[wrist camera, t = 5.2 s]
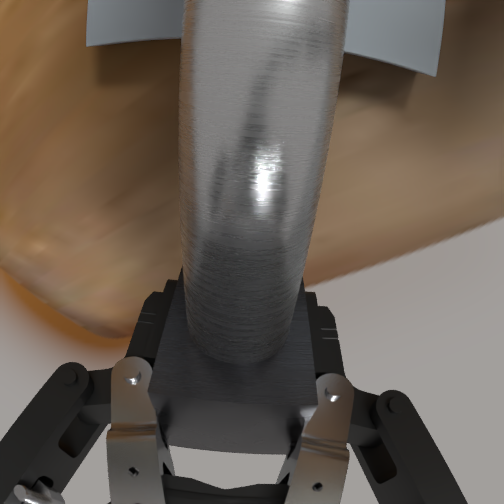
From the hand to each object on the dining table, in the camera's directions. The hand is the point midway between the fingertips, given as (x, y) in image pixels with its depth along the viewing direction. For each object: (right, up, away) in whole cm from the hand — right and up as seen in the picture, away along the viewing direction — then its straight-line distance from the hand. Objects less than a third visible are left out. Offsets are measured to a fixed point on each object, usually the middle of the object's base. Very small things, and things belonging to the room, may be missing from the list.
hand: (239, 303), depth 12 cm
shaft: (+1, +5, -4) cm, 6 cm away
